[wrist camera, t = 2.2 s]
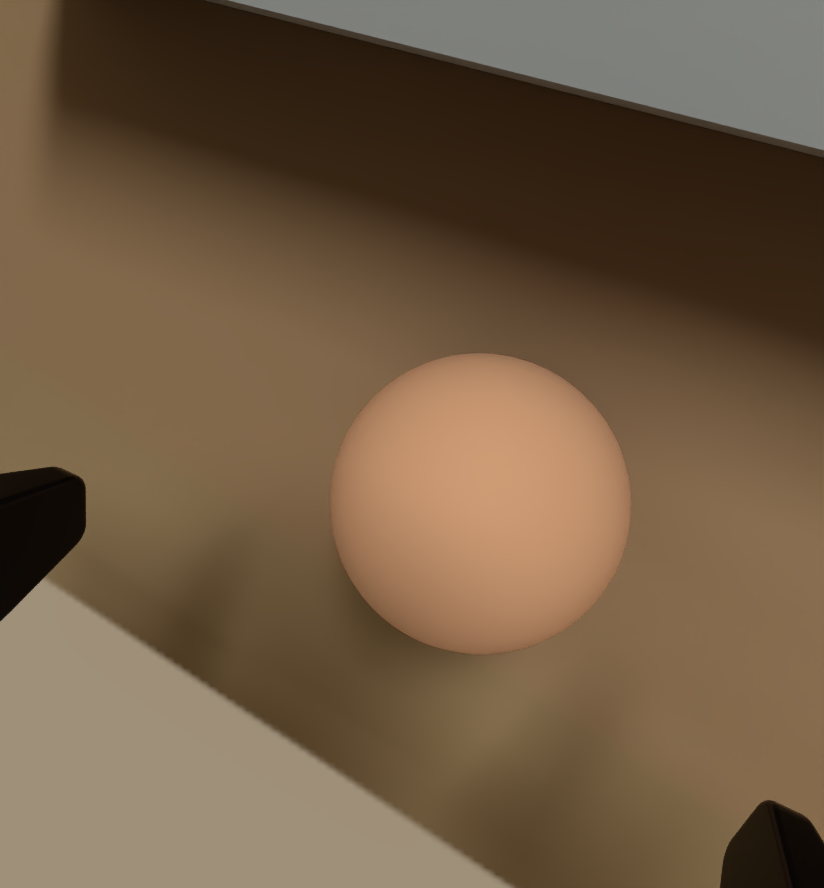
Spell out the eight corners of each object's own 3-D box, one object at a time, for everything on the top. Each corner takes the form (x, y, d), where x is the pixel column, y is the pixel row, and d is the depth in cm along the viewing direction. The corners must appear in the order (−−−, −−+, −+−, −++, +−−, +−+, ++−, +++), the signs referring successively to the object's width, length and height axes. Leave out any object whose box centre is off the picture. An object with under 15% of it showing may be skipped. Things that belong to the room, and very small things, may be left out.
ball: (376, 498, 15) (253, 635, 11) (428, 287, 13) (295, 359, 9) (588, 587, 14) (540, 778, 10) (686, 375, 12) (678, 505, 8)
